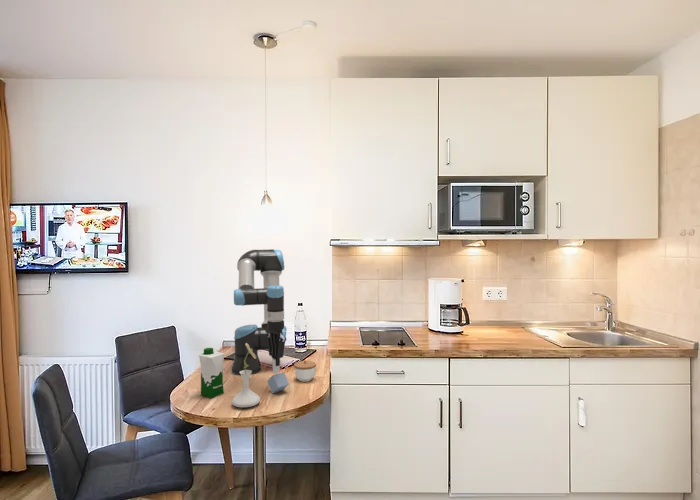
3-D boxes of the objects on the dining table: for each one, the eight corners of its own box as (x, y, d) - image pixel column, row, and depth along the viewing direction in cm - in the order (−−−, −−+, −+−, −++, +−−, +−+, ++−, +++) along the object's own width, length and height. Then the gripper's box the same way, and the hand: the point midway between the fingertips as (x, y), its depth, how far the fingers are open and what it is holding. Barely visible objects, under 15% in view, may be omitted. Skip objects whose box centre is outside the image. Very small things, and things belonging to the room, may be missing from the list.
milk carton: (213, 389, 189) (212, 346, 188) (227, 393, 184) (226, 348, 183) (197, 395, 181) (196, 350, 181) (211, 399, 176) (210, 353, 176)
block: (266, 381, 185) (272, 375, 182) (277, 378, 190) (283, 371, 186) (272, 393, 183) (278, 387, 180) (283, 390, 187) (289, 384, 184)
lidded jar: (312, 384, 195) (312, 364, 195) (291, 382, 197) (290, 363, 197) (318, 376, 205) (318, 358, 205) (298, 375, 207) (298, 356, 207)
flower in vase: (258, 409, 165) (257, 347, 165) (229, 410, 164) (228, 348, 164) (262, 397, 178) (261, 340, 178) (235, 398, 177) (234, 340, 177)
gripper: (260, 319, 187) (261, 371, 187) (276, 323, 177) (277, 377, 178) (274, 317, 192) (275, 367, 192) (291, 321, 183) (291, 373, 183)
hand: (276, 372), depth 185 cm, fingers closed
